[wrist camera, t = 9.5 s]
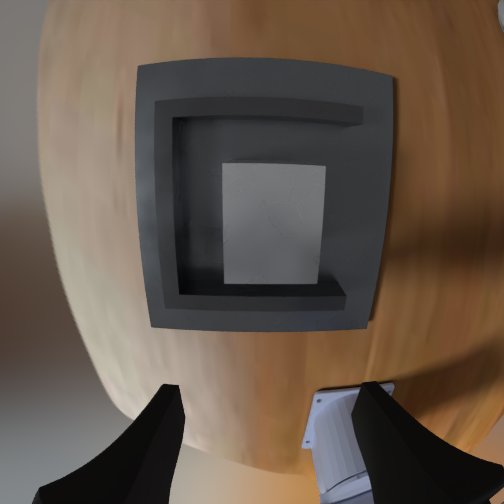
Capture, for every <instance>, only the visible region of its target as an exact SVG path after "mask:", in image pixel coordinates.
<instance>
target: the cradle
mask: <svg viewBox="0 0 504 504" xmlns="http://www.w3.org/2000/svg"><path fill="white" fill-rule="evenodd" d="M392 148H393V78H392V76H391V75H387V74H383V73H378V72H374V71H369V70H364V69H359V68H353V67H347V66H341V65H335V64H327V63H320V62H311V61H301V60H289V59H274V58H207V59H191V60H180V61H170V62H161V63H154V64H147V65H140V66H138V71H137V86H136V107H135V177H136V199H137V215H138V228H139V239H140V249H141V259H142V267H143V275H144V283H145V290H146V297H147V304H148V310H149V316H150V322H151V327H154V328H167V329H183V330H203V331H233V332H304V331H333V330H352V329H367V325H368V321H369V317H370V312H371V308H372V303H373V299H374V294H375V289H376V284H377V278H378V273H379V267H380V262H381V255H382V249H383V243H384V236H385V228H386V220H387V212H388V203H389V193H390V181H391V167H392ZM230 160H282V161H302V162H307V163H312V164H318V165H323V166H326V172H325V193H324V210H323V224H322V237H321V249H320V260H319V270H318V280H317V284H224V257H223V189H222V163H225V162H227V161H230Z"/></svg>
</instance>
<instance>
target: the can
mask: <svg viewBox="0 0 504 504" xmlns="http://www.w3.org/2000/svg"><path fill="white" fill-rule="evenodd" d="M498 19H499V22H500V26H501V28H502V30H503V33H504V0H500V1H499V3H498Z"/></svg>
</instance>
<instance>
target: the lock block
mask: <svg viewBox="0 0 504 504" xmlns="http://www.w3.org/2000/svg"><path fill="white" fill-rule="evenodd" d="M325 172H326V166H323V165H318V164H312V163H307V162H302V161H282V160H230V161H227V162H225V163H222V189H223V257H224V284H317V280H318V270H319V260H320V249H321V237H322V224H323V210H324V193H325Z"/></svg>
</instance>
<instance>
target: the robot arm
mask: <svg viewBox="0 0 504 504" xmlns="http://www.w3.org/2000/svg"><path fill="white" fill-rule="evenodd" d="M394 388H395V386H394V384H393V383H385V384H378V383H377V382H376V381H372V382H364V383H362V385H361V387H356V388H347V389H337V390H325V391H318V392H316V393H315V394H314V398H313V402H312V406H311V410H310V414H309V419H308V423H307V426H306V430H305V434H304V438H303V442H302V448H304V449H309V448H311V450H312V456H313V461H314V467H315V473H316V479H317V484H318V489H319V491H320V493H321V495H319V496H320V503H321V504H491V503H490V501H489V499H490V498H491V497H493V496H494V495H495V494H496V493H498V492H499V491H500V490H501V489H502V488H503V487H504V467H503V466H502V465H500V464H496V463H493V462H489V461H486V460H483V459H480V458H477V457H475V456H472V455H470V454H468V453H466V452H463V451H461V450H459V449H458V448H456V447H454V446H452V445H450V444H449V443H447V442H445V441H444V440H442V439H441V438H439V437H438V436H436V435H435V434H433V433H432V432H430V431H429V430H428V429H427V428H425V427H424V426H423V425H422V424H420V423H419V422H418V421H417V420H416V419H414V418H413V417H412V416H411V415H410V414H409V413H408V412H407V411H406V410H405V409H403V408H402V407H401V406H400V405H399V404H398V403H397V402H396V401H395V400H394V399H393V398H392V397H391V395H392V392H393V390H394ZM318 399H319V400H318ZM184 425H185V413H184V408H183V404H182V399H181V394H180V389H179V385H171V384H163V385H161V387H160V388H159V390H158V391H157V393H156V394H155V395H154V397H153V398H152V399H151V401H150V402H149V403H148V405H147V406H146V407H145V408H144V410H143V411H142V412H141V413H140V414H139V416H138V417H137V418H136V419H135V420H134V422H133V423H132V424H131V425H130V426H129V427H128V428H127V429H126V430H125V431H124V432H123V433H122V434H121V436H119V437H118V438H117V439H116V440H115V441H114V442H113V443H112V444H111V445H110V446H109V447H108V448H106V449H105V450H104V451H103V452H102V453H100V454H99V455H98V456H96V457H95V458H94V459H92V460H91V461H90V462H88V463H87V464H85V465H84V466H82V467H80V468H79V469H77V470H75V471H74V472H72V473H70V474H68V475H66V476H65V477H63V478H61V479H58V480H56V481H54V482H51V483H49V484H47V485H44V486H42V487H40V488H39V489H38V491H37V493H36V495H35V497H34V500H33V502H32V504H169V496H170V488H171V483H172V479H173V475H174V470H175V467H176V463H177V459H178V455H179V451H180V448H181V444H182V439H183V433H184ZM501 504H504V502H503V503H501Z"/></svg>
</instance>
